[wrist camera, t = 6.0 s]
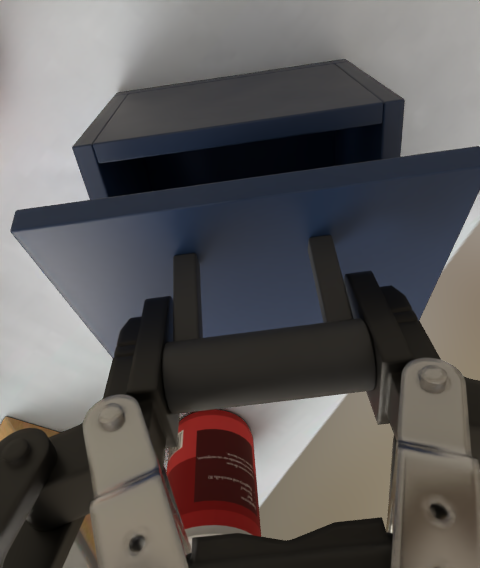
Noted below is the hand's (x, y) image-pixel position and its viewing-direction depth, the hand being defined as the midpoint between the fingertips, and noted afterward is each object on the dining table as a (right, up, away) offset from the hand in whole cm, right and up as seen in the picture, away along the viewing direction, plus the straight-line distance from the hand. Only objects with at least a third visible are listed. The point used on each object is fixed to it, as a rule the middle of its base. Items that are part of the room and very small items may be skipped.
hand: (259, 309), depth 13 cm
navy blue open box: (0, +6, +15) cm, 16 cm away
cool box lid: (0, -1, +5) cm, 5 cm away
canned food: (-3, -13, +29) cm, 32 cm away
